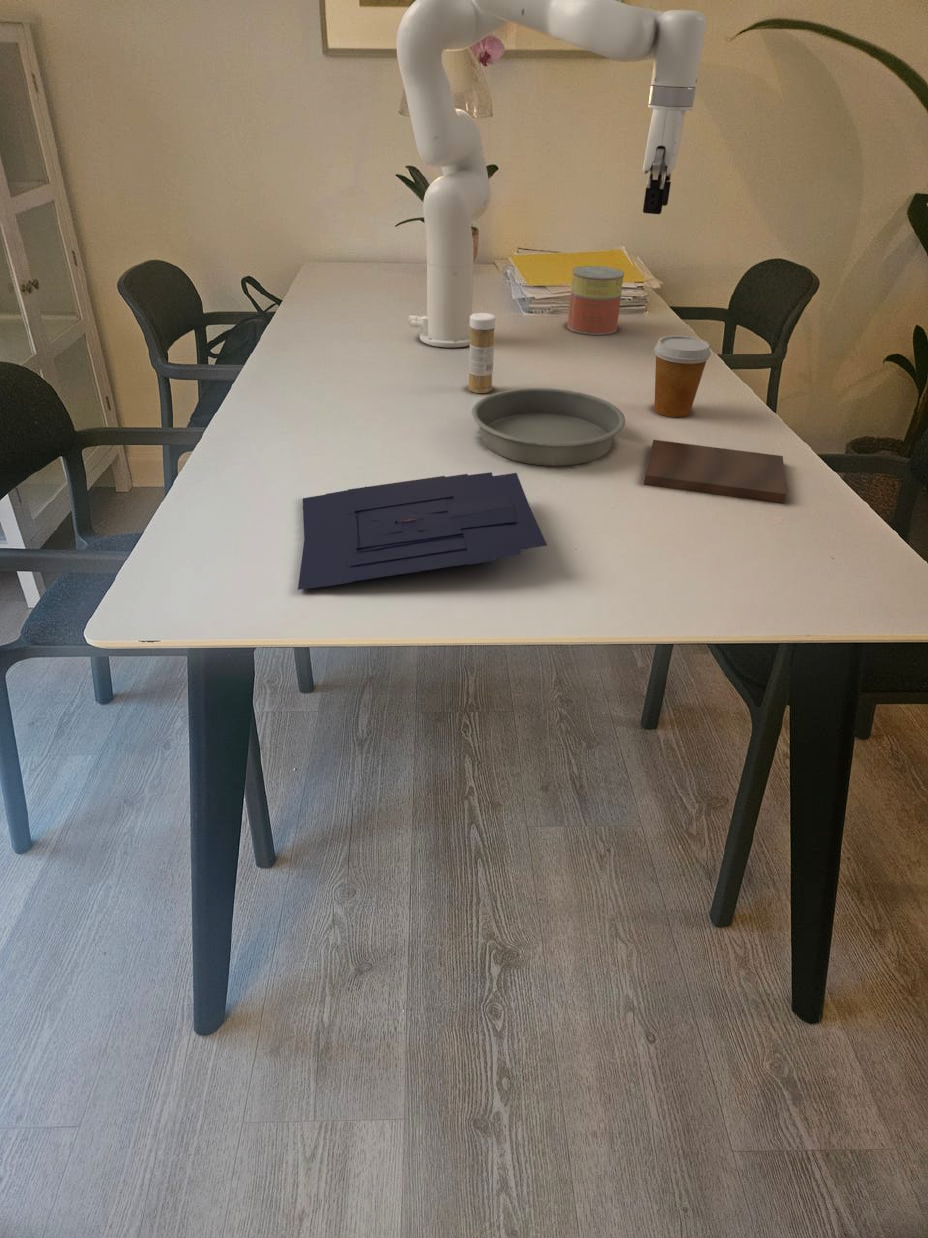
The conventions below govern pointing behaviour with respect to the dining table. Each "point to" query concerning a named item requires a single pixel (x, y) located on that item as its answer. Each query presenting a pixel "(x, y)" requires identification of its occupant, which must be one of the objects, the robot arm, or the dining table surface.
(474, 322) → the sprinkles bottle
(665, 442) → the walnut serving board
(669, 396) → the disposable coffee cup
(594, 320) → the canned food
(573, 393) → the cake pan
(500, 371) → the dining table surface
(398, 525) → the papers
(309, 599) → the dining table surface
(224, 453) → the dining table surface
